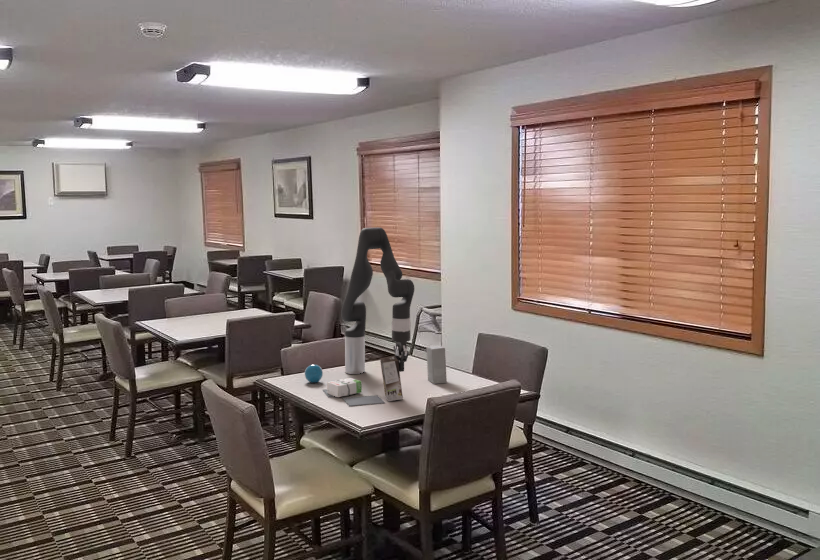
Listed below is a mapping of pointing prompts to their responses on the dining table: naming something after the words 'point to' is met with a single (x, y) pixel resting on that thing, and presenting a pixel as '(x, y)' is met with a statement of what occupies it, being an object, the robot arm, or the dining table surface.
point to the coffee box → (391, 378)
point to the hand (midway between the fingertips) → (401, 371)
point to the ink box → (344, 387)
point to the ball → (313, 373)
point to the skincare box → (436, 364)
